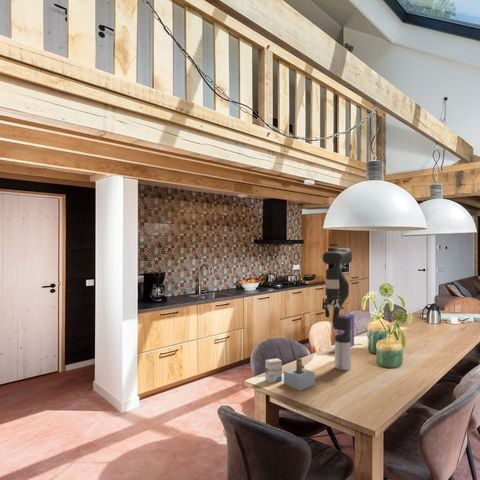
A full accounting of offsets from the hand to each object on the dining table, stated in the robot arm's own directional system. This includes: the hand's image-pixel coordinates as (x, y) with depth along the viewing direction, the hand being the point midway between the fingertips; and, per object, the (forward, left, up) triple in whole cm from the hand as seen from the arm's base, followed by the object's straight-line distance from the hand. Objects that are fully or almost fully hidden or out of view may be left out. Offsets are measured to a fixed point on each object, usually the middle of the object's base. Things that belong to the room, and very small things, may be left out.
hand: (332, 316), depth 197 cm
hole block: (+15, -11, -38) cm, 42 cm away
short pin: (+4, -19, -38) cm, 43 cm away
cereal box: (-66, -38, -38) cm, 85 cm away
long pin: (+15, -11, -38) cm, 42 cm away
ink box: (+23, -24, -38) cm, 50 cm away
